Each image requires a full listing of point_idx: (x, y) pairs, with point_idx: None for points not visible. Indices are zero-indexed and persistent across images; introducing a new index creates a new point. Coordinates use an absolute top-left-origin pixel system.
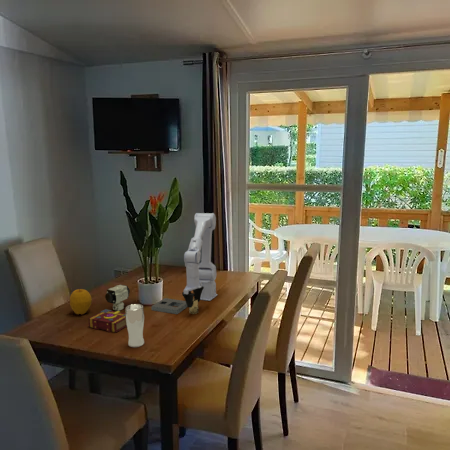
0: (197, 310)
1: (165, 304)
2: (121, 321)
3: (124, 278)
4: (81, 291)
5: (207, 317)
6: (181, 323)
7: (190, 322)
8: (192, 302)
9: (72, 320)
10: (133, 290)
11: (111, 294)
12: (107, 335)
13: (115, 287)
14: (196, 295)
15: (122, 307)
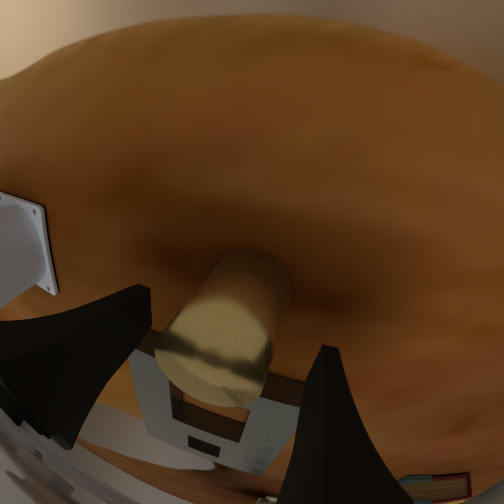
0: (253, 261)
1: (222, 445)
2: (447, 497)
3: (86, 447)
4: None
5: (367, 123)
6: (480, 329)
7: (479, 271)
8: (326, 386)
9: None
10: (126, 456)
11: None
12: (475, 475)
13: None
14: (105, 355)
15: (272, 500)
